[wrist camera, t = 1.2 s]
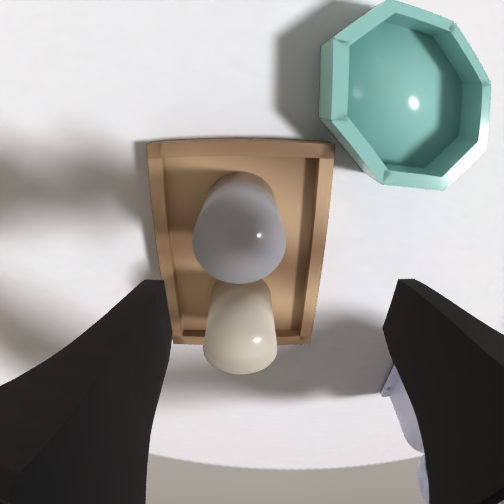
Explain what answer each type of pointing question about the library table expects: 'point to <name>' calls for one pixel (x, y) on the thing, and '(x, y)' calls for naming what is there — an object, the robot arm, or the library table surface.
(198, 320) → the tray
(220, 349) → the pebble light
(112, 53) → the library table surface
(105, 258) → the library table surface
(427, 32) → the dish
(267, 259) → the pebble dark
